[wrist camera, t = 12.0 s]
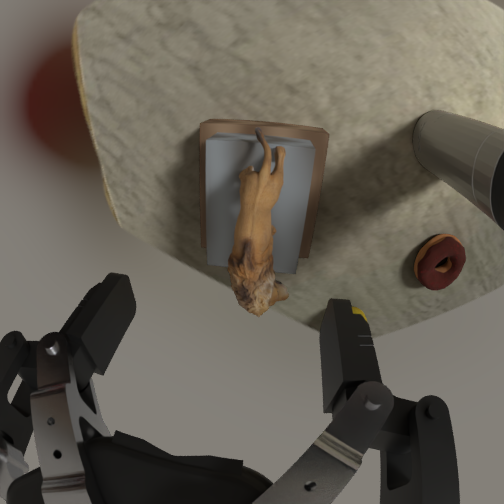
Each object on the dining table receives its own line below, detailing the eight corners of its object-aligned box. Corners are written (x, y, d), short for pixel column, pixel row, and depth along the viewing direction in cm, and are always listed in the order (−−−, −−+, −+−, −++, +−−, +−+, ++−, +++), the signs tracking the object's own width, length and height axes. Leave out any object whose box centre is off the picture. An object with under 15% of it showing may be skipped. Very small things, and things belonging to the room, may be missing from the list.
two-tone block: (322, 128, 31) (338, 142, 23) (305, 239, 40) (311, 282, 31) (210, 118, 32) (185, 129, 23) (209, 229, 40) (191, 269, 32)
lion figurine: (288, 264, 30) (288, 324, 23) (239, 263, 31) (226, 323, 23) (286, 125, 22) (289, 142, 15) (226, 128, 23) (198, 147, 16)
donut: (460, 224, 35) (472, 236, 32) (458, 270, 40) (467, 283, 37) (410, 240, 38) (419, 254, 35) (412, 286, 43) (419, 301, 40)
